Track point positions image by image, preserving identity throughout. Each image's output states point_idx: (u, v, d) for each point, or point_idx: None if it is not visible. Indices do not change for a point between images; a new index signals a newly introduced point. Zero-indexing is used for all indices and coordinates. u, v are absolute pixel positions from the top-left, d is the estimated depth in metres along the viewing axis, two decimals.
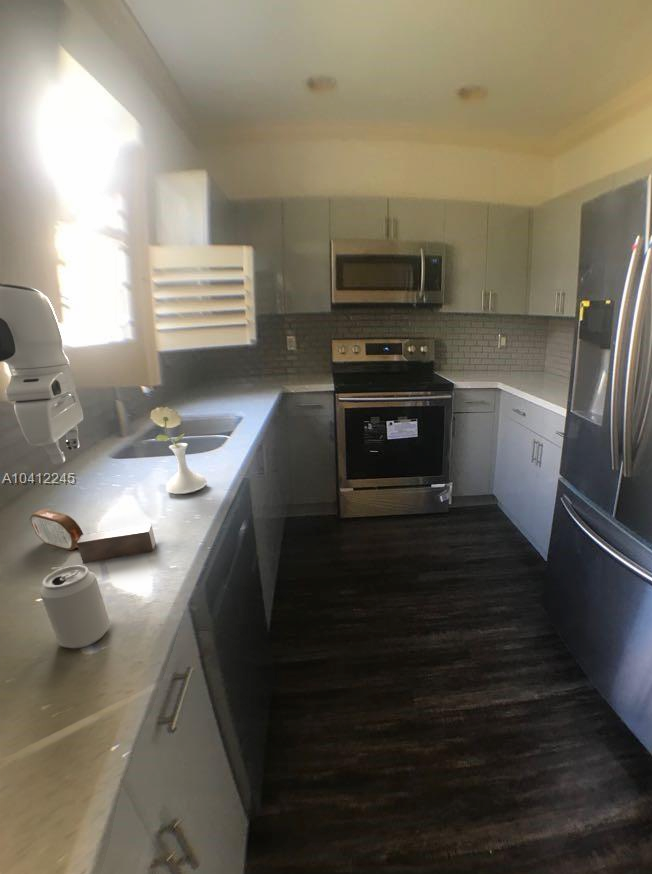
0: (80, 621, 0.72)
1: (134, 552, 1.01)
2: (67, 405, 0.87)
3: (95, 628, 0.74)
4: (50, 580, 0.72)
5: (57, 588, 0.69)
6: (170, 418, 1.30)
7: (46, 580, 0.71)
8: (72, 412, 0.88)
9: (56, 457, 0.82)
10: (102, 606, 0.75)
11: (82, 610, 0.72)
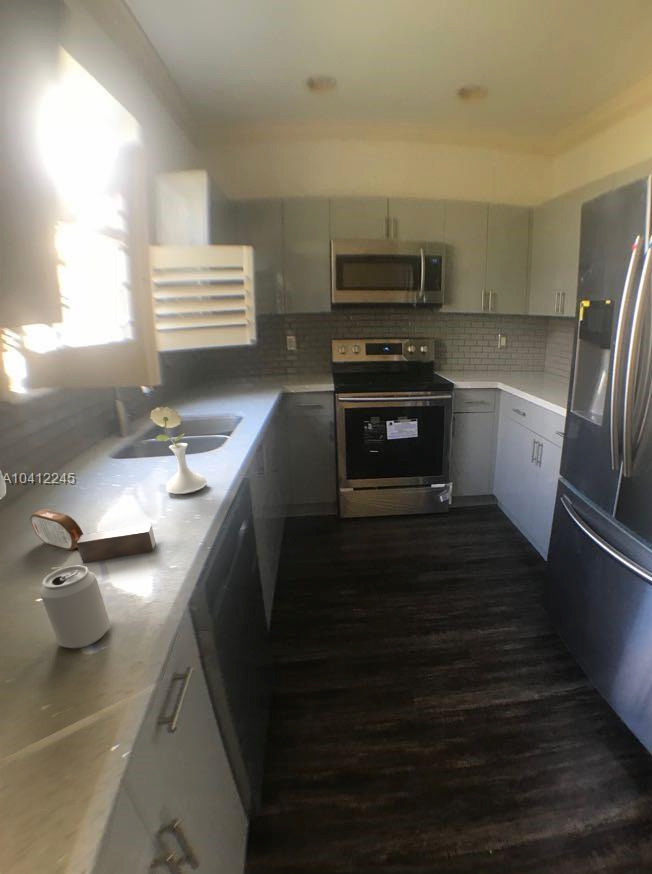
0: (80, 621, 0.72)
1: (134, 552, 1.01)
2: None
3: (95, 628, 0.74)
4: (50, 580, 0.72)
5: (57, 588, 0.69)
6: (170, 418, 1.30)
7: (46, 580, 0.71)
8: None
9: None
10: (102, 606, 0.75)
11: (82, 610, 0.72)
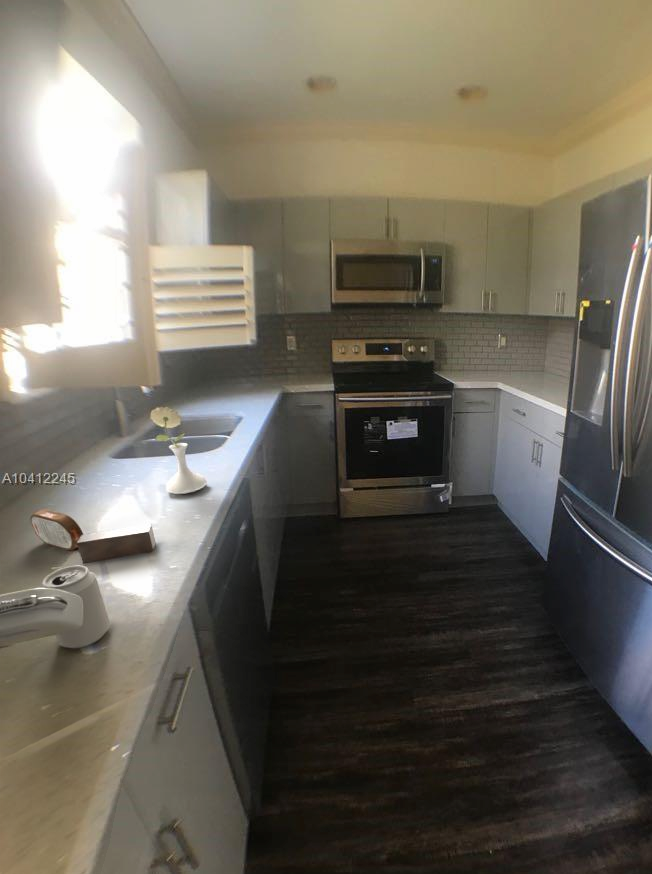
0: None
1: (134, 552, 1.01)
2: None
3: (95, 628, 0.74)
4: (50, 580, 0.72)
5: (57, 588, 0.69)
6: (170, 418, 1.30)
7: (46, 580, 0.71)
8: (2, 641, 0.46)
9: None
10: (102, 606, 0.75)
11: None
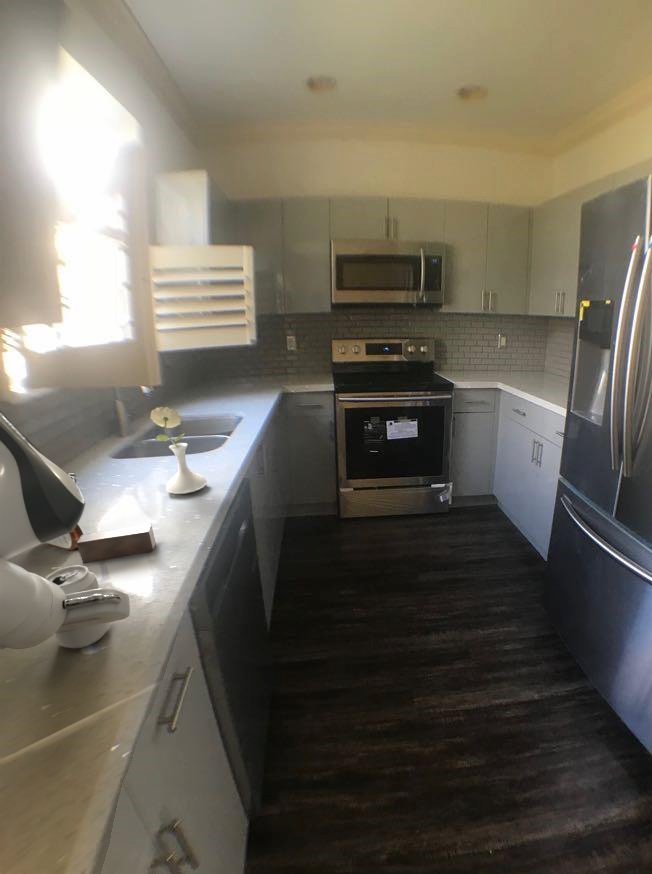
0: None
1: (134, 552, 1.01)
2: (65, 623, 0.63)
3: (95, 628, 0.74)
4: (50, 580, 0.72)
5: None
6: (170, 418, 1.30)
7: None
8: (74, 626, 0.64)
9: None
10: None
11: None
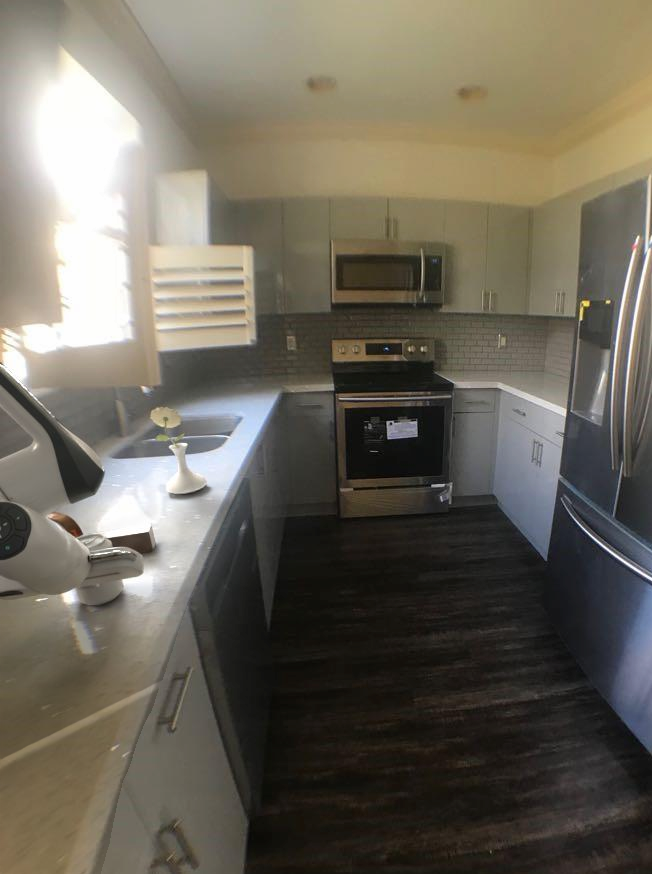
0: None
1: None
2: (89, 577, 0.74)
3: (113, 587, 0.85)
4: None
5: None
6: (170, 418, 1.30)
7: None
8: (97, 580, 0.75)
9: None
10: None
11: None
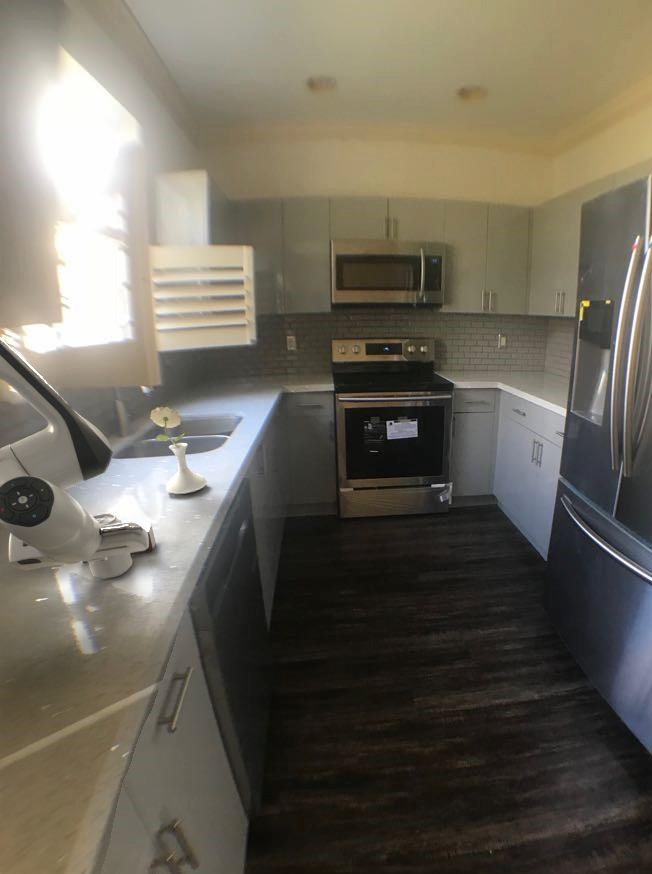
0: None
1: (134, 552, 1.01)
2: (100, 549, 0.81)
3: (123, 562, 0.93)
4: None
5: None
6: (170, 418, 1.30)
7: None
8: (106, 552, 0.82)
9: None
10: None
11: None
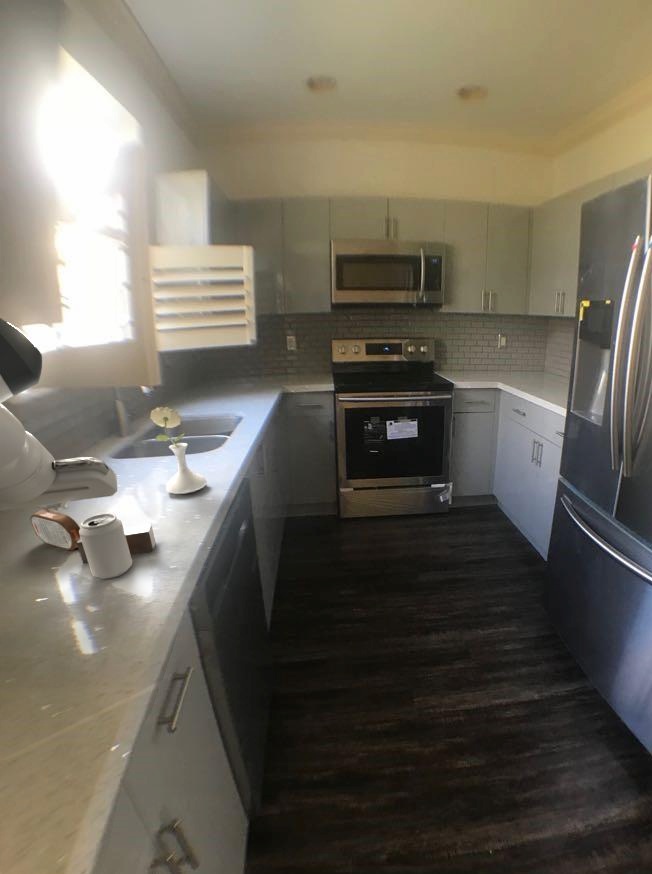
0: (112, 555, 0.91)
1: (134, 552, 1.01)
2: (55, 490, 0.66)
3: (123, 562, 0.93)
4: (86, 523, 0.90)
5: (94, 528, 0.88)
6: (170, 418, 1.30)
7: (83, 523, 0.90)
8: (64, 495, 0.67)
9: None
10: (127, 545, 0.94)
11: (113, 546, 0.91)
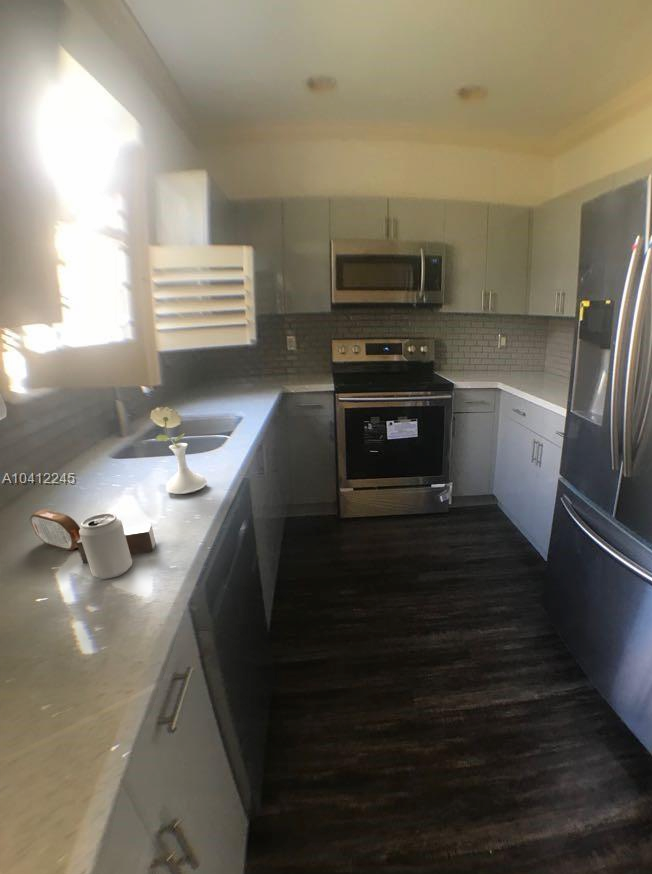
0: (112, 555, 0.91)
1: (134, 552, 1.01)
2: None
3: (123, 562, 0.93)
4: (86, 523, 0.90)
5: (94, 528, 0.88)
6: (170, 418, 1.30)
7: (83, 523, 0.90)
8: None
9: None
10: (127, 545, 0.94)
11: (113, 546, 0.91)
